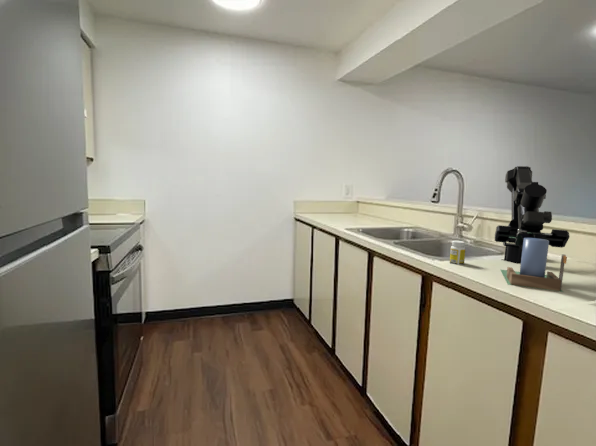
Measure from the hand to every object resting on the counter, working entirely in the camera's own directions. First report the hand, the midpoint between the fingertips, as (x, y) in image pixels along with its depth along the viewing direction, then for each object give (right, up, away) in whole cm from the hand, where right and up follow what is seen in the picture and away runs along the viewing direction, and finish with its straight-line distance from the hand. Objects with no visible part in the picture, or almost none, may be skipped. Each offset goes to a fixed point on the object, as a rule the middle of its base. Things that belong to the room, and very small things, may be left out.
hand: (531, 258), depth 103 cm
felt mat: (0, -7, +2) cm, 7 cm away
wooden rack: (-2, -7, -3) cm, 8 cm away
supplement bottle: (-13, -4, +20) cm, 25 cm away
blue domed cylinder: (-2, -7, -3) cm, 8 cm away
